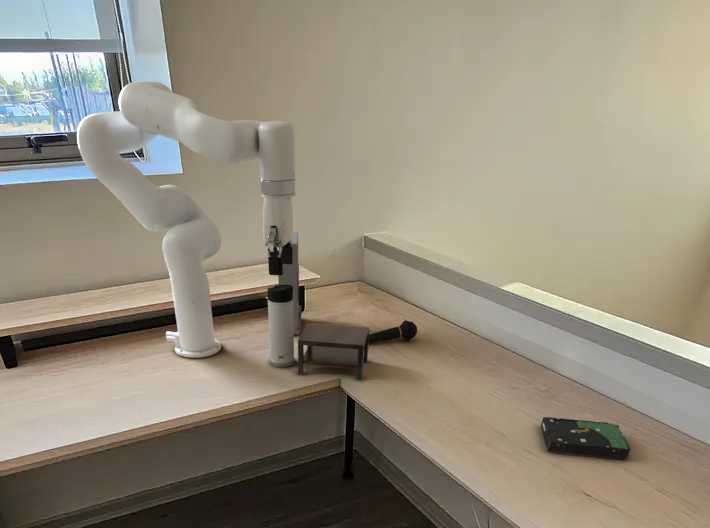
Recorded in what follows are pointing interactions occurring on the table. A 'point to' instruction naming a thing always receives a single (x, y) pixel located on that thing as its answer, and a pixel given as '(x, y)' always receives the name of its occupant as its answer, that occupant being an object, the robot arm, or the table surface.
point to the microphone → (395, 333)
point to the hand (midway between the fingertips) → (281, 269)
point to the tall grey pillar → (293, 282)
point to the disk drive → (584, 438)
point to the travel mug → (281, 325)
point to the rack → (333, 347)
